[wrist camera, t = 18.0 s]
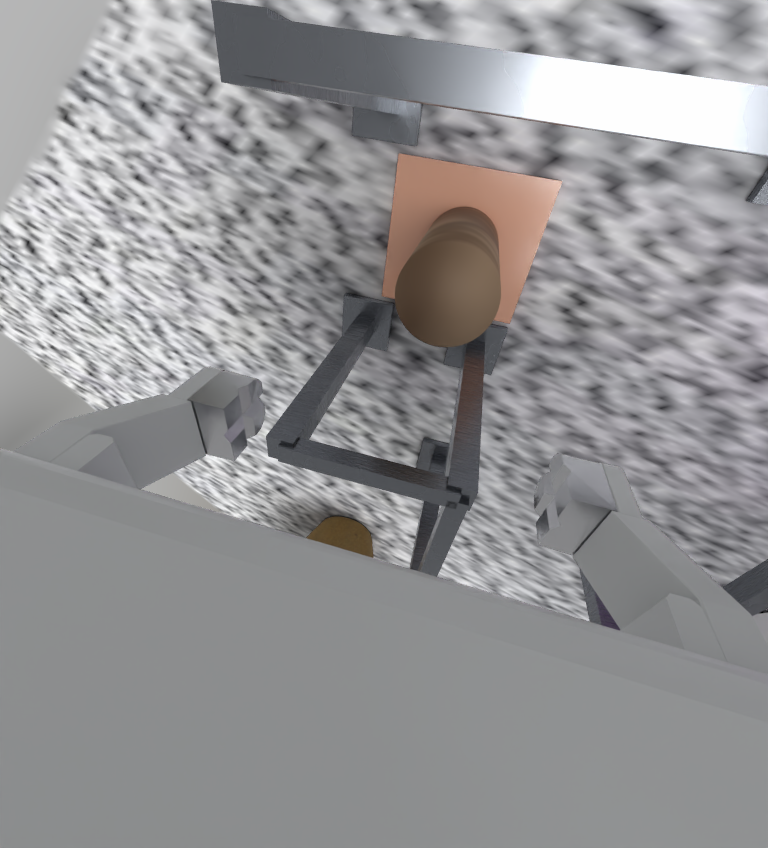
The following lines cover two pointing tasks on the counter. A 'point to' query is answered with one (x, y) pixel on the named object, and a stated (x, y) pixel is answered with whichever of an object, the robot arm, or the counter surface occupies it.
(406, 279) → the walnut cylinder
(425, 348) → the counter surface
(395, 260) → the tile
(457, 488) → the dark grey bar frame
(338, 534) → the plant pot
